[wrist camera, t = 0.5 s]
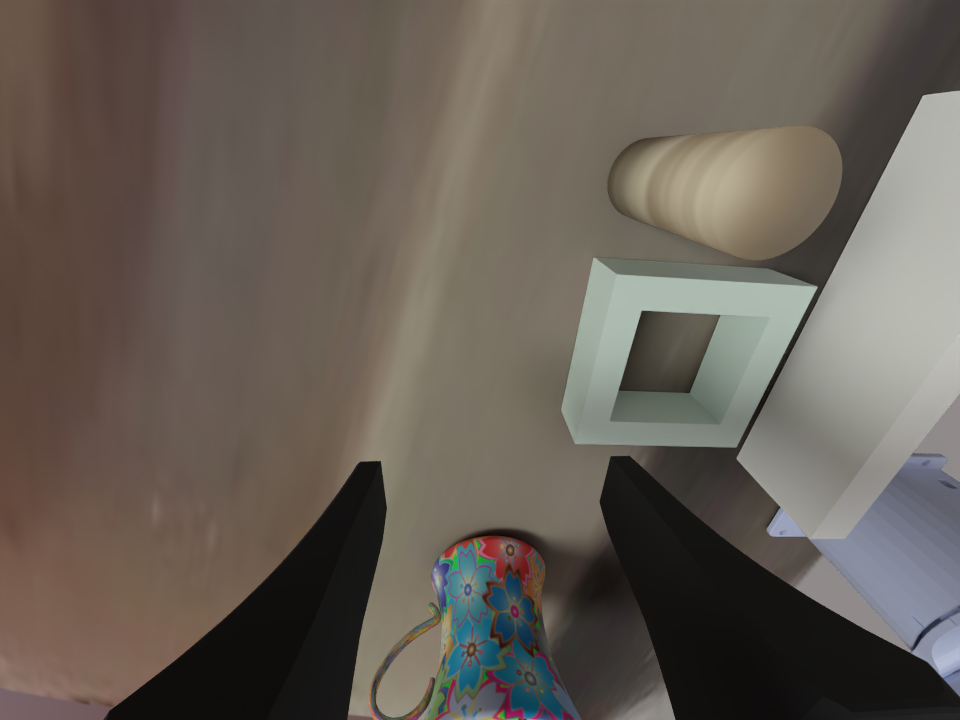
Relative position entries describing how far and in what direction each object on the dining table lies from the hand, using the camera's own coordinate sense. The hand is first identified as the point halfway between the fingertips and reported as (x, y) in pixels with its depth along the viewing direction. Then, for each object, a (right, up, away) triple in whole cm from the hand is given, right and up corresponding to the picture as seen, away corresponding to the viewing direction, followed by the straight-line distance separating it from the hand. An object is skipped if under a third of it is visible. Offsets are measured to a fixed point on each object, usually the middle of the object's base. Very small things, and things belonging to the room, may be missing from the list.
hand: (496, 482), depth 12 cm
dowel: (+7, +12, +5) cm, 14 cm away
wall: (+18, +6, +9) cm, 21 cm away
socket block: (+9, +5, +9) cm, 14 cm away
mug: (-1, -12, +17) cm, 21 cm away
